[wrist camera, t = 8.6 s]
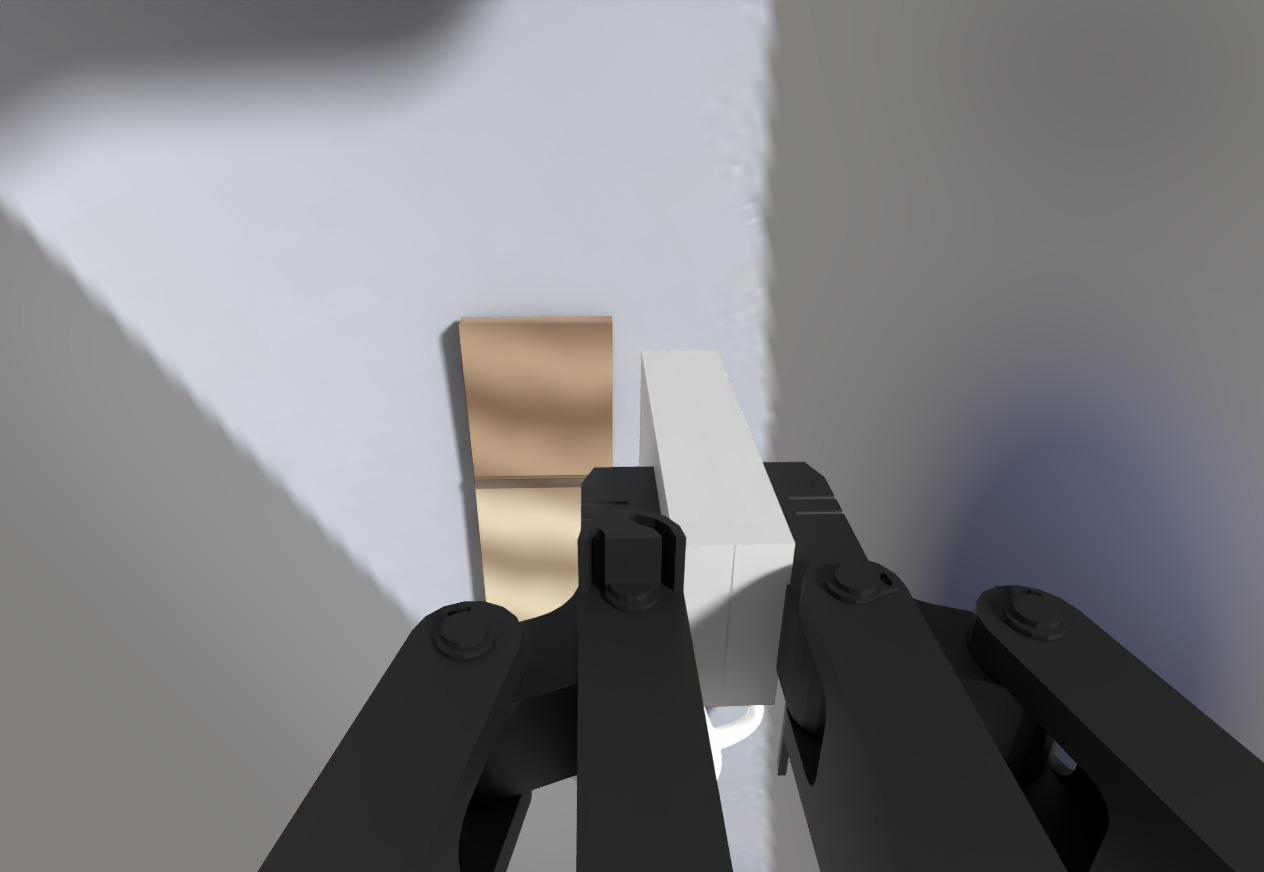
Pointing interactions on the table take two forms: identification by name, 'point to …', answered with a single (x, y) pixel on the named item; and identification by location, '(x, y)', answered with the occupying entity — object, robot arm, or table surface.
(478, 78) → the table surface
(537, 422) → the plank
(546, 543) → the floorboard
